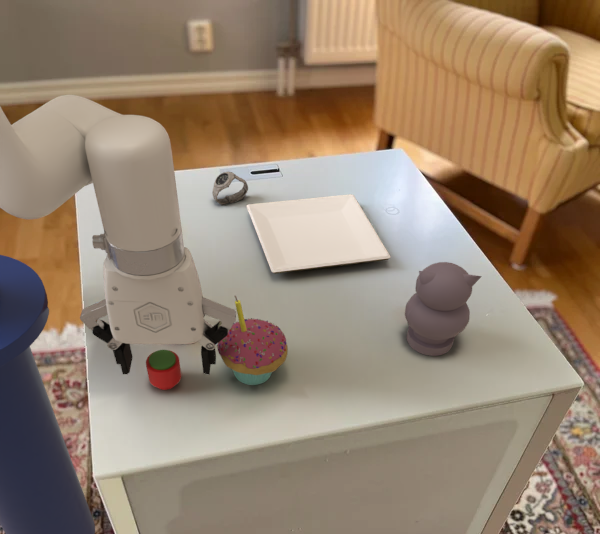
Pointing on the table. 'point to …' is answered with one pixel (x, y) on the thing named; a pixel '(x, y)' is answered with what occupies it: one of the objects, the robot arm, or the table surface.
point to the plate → (315, 233)
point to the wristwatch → (224, 182)
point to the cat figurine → (438, 308)
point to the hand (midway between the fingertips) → (167, 366)
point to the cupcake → (253, 348)
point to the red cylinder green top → (163, 369)
